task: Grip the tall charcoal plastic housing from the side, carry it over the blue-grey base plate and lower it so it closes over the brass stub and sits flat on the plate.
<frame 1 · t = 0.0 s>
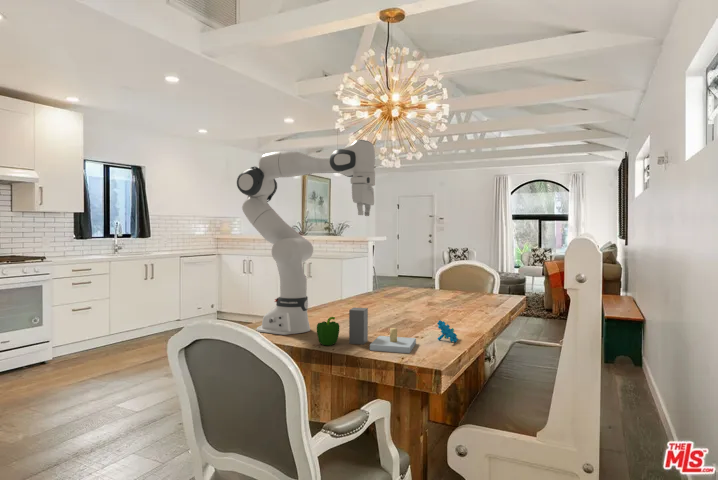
hand: (363, 215, 180), 48 cm above the table, tool pointing down, fingers open, 8 cm apart
bell pepper: (328, 344, 166), on the table
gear: (447, 341, 172), on the table
base plate: (393, 346, 162), on the table
housing: (358, 342, 169), on the table
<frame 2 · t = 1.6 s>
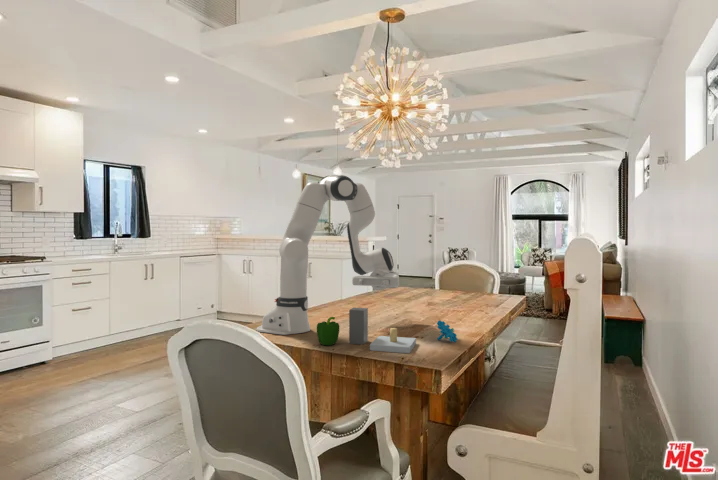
hand: (371, 283, 187), 20 cm above the table, tool horizontal, fingers open, 8 cm apart
nothing on the table moved.
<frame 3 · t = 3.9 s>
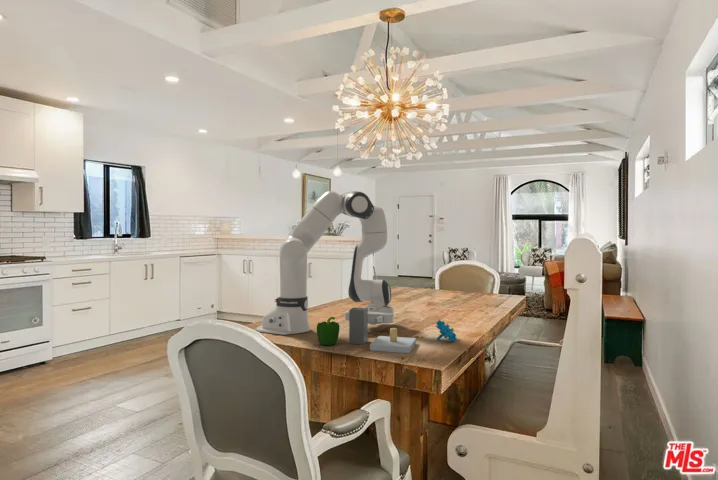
hand: (364, 319, 178), 7 cm above the table, tool horizontal, fingers open, 8 cm apart
nothing on the table moved.
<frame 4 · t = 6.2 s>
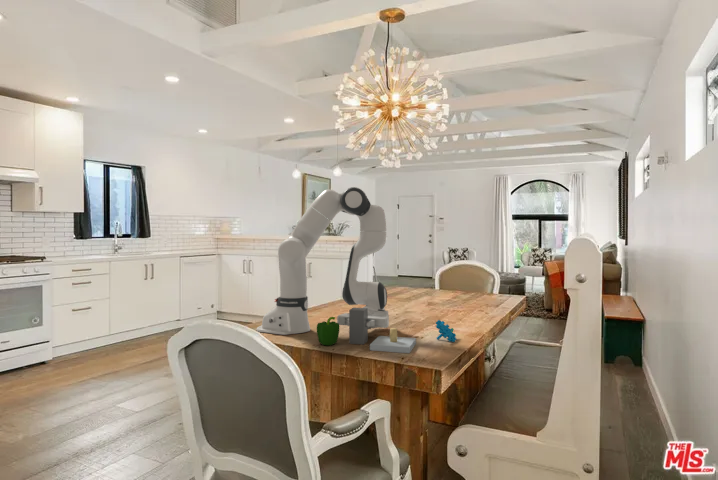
hand: (357, 324, 168), 7 cm above the table, tool horizontal, fingers closed on housing, 6 cm apart
housing: (358, 342, 169), on the table, touching gripper
everything else where it was.
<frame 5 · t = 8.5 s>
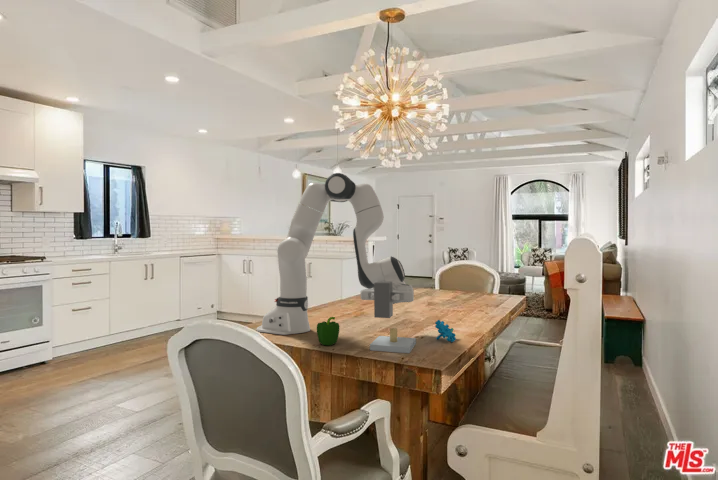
hand: (383, 297, 164), 17 cm above the table, tool horizontal, fingers closed on housing, 6 cm apart
housing: (383, 316, 165), point 11 cm above the table, touching gripper
everything else where it was.
when the fingers open (10 cm above the table, at t = 10.9 s): housing drops 1 cm, resting on base plate.
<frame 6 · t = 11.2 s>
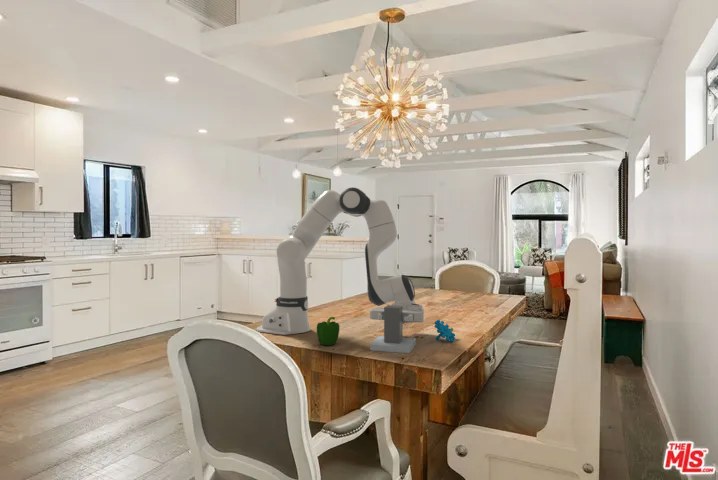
hand: (393, 318, 161), 10 cm above the table, tool horizontal, fingers open, 8 cm apart
housing: (393, 341, 163), point 2 cm above the table, touching base plate
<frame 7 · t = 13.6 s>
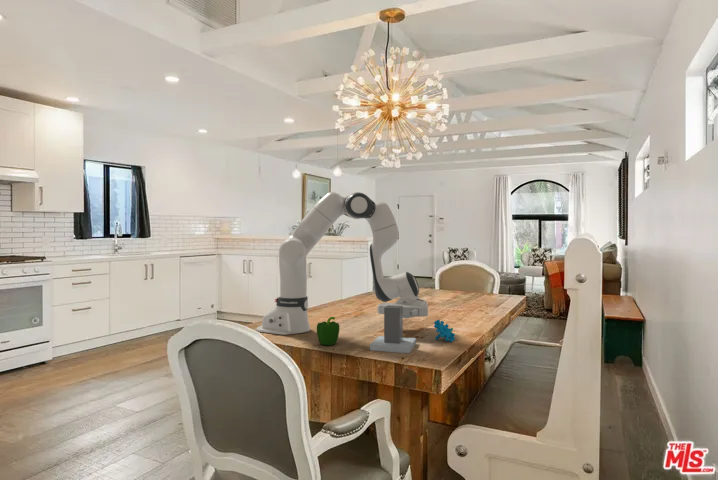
hand: (399, 312, 173), 10 cm above the table, tool horizontal, fingers open, 8 cm apart
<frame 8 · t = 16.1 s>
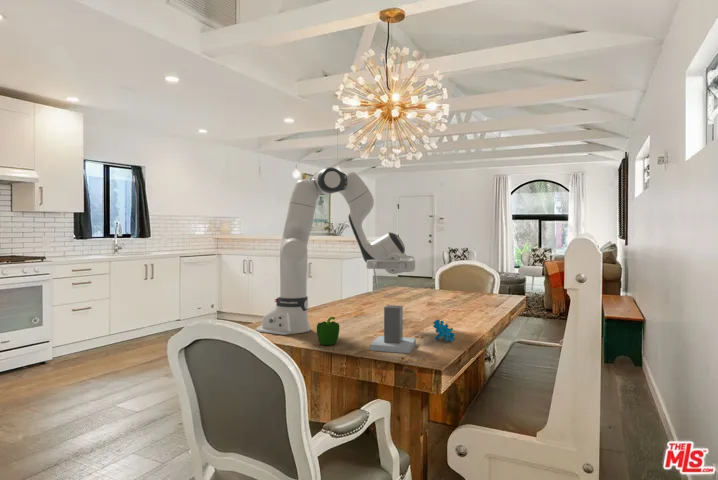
hand: (387, 265, 179), 28 cm above the table, tool horizontal, fingers open, 8 cm apart
at the end: housing 0.1 cm from the base plate (horizontally); housing point 2.0 cm above the table; housing tilted 0° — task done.
